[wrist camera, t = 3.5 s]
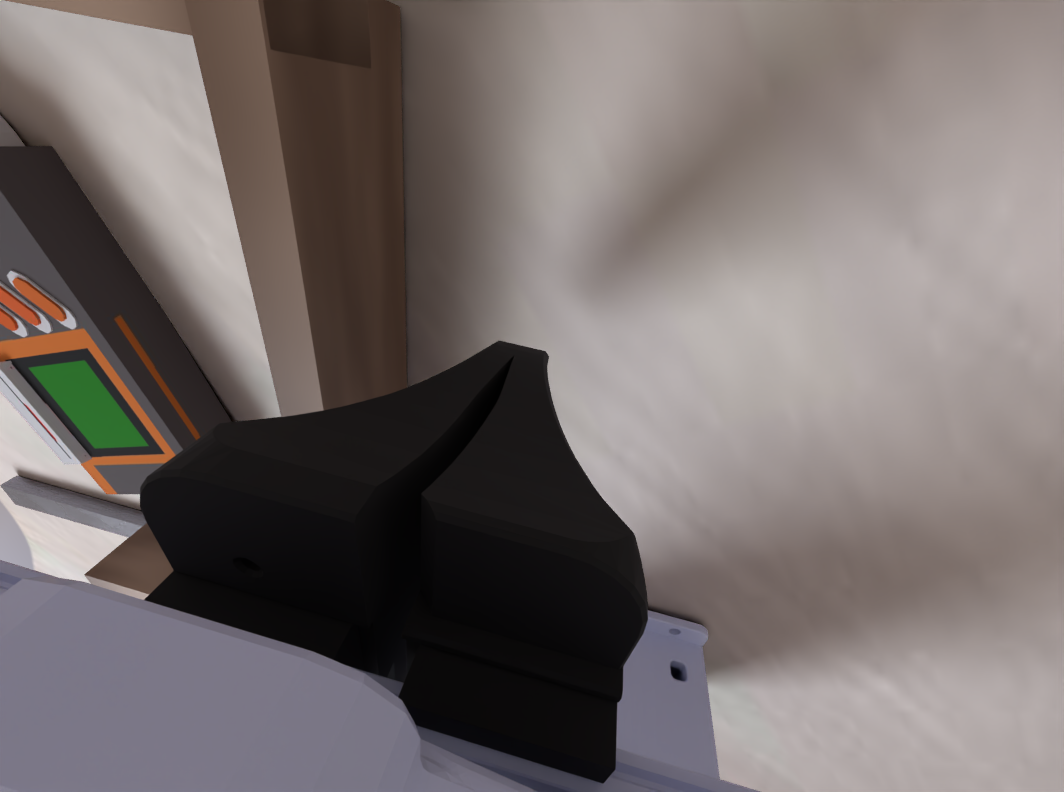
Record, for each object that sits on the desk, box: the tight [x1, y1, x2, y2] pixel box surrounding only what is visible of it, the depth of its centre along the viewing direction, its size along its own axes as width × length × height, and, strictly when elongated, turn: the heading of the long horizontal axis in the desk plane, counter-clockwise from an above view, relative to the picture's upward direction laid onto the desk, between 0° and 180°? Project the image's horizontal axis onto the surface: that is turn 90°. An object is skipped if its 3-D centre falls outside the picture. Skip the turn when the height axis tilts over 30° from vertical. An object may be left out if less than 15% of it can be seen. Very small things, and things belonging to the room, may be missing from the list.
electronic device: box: [0, 115, 232, 494], centre depth 16 cm, size 7×3×15 cm
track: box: [0, 476, 147, 537], centre depth 16 cm, size 26×28×1 cm
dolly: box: [6, 0, 407, 600], centre depth 14 cm, size 13×23×4 cm, turn 171°
